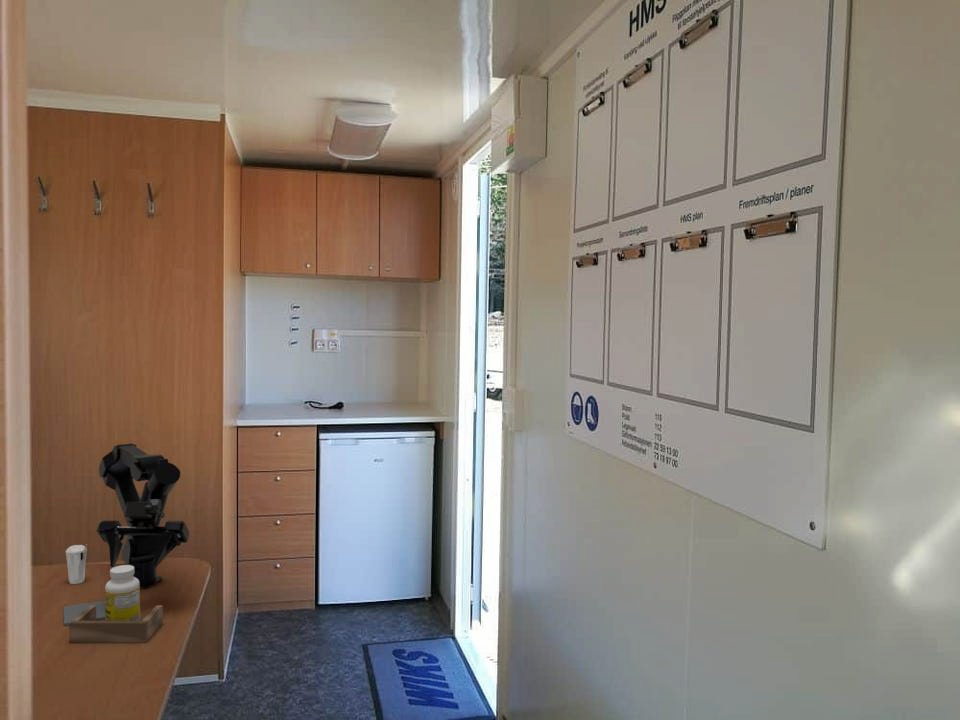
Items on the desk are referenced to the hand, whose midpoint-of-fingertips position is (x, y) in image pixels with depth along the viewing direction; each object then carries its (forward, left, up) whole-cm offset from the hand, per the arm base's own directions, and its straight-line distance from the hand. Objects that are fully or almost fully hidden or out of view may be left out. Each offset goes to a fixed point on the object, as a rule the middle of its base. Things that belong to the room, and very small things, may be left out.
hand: (133, 566), depth 161 cm
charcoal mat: (0, -11, -11) cm, 16 cm away
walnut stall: (+8, +1, -11) cm, 14 cm away
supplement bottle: (+5, +1, -12) cm, 13 cm away
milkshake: (-17, -25, -12) cm, 32 cm away
